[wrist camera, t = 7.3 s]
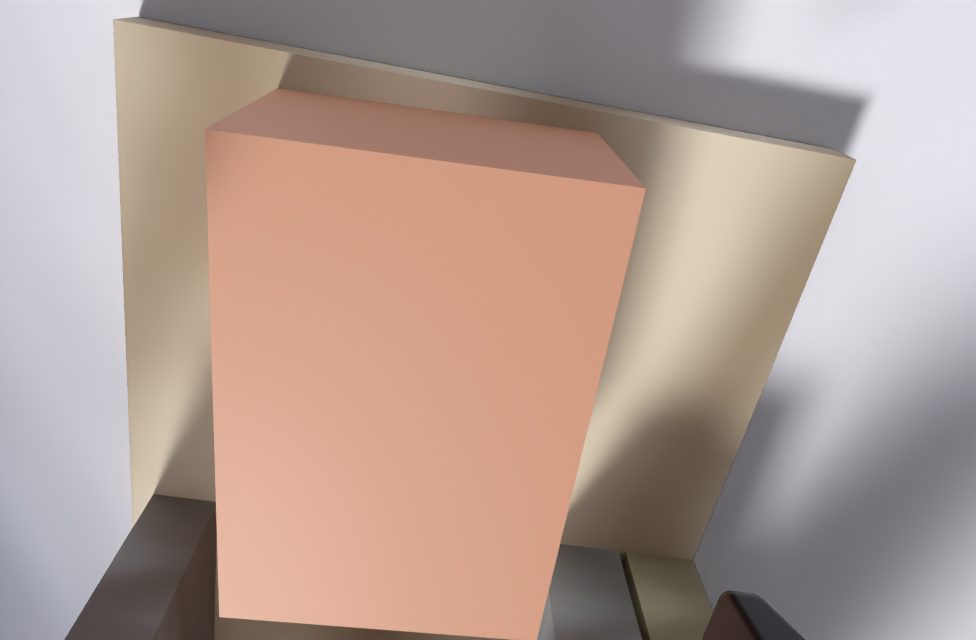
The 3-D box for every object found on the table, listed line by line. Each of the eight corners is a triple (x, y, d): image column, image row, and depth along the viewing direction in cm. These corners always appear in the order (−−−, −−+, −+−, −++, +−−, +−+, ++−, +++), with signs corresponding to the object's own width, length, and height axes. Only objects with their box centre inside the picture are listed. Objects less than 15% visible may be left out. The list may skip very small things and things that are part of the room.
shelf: (832, 149, 15) (1018, 233, 10) (619, 692, 22) (665, 901, 17) (137, 17, 13) (-59, 37, 8) (153, 645, 20) (52, 859, 15)
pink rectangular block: (597, 133, 13) (645, 187, 10) (521, 503, 17) (536, 641, 14) (277, 87, 13) (205, 129, 9) (272, 480, 17) (219, 617, 13)
